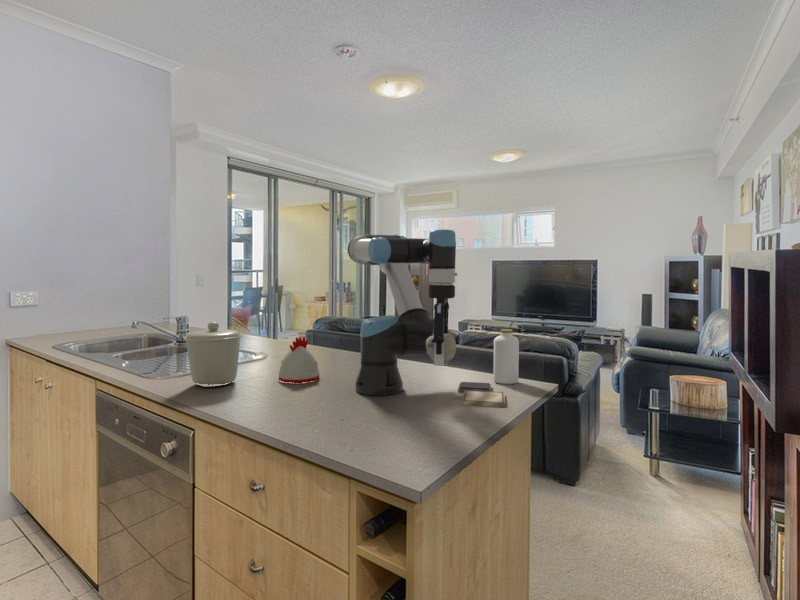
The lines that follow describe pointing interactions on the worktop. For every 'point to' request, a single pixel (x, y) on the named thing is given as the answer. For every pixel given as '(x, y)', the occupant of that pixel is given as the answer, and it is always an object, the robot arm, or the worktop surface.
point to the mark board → (483, 398)
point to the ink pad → (474, 386)
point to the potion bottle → (506, 358)
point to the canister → (213, 354)
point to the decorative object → (448, 347)
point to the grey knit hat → (299, 364)
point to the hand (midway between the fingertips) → (440, 361)
